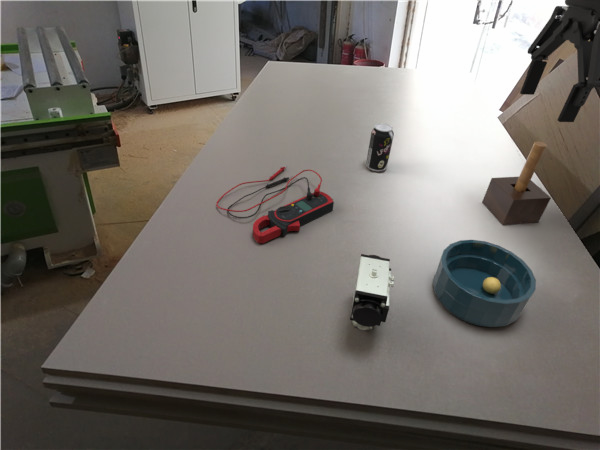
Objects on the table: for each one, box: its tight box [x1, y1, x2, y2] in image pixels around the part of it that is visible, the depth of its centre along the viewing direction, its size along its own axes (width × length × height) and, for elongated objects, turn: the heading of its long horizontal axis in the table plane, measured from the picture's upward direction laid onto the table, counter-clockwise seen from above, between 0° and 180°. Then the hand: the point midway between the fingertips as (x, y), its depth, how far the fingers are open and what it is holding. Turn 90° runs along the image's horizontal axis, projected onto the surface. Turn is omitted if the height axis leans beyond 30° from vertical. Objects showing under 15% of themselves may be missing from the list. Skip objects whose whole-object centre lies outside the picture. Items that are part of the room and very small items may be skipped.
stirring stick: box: [514, 141, 548, 192], centre depth 91 cm, size 2×2×18 cm
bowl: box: [432, 239, 537, 328], centre depth 73 cm, size 16×16×7 cm
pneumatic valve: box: [349, 253, 395, 331], centre depth 65 cm, size 6×12×12 cm, turn 168°
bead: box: [483, 277, 501, 294], centre depth 74 cm, size 3×3×3 cm
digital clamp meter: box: [215, 164, 334, 244], centre depth 94 cm, size 23×4×25 cm
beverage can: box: [365, 122, 395, 172], centre depth 107 cm, size 6×6×12 cm
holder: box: [481, 176, 552, 226], centre depth 95 cm, size 9×9×7 cm
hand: (544, 106), depth 79 cm, fingers open, 13 cm apart
